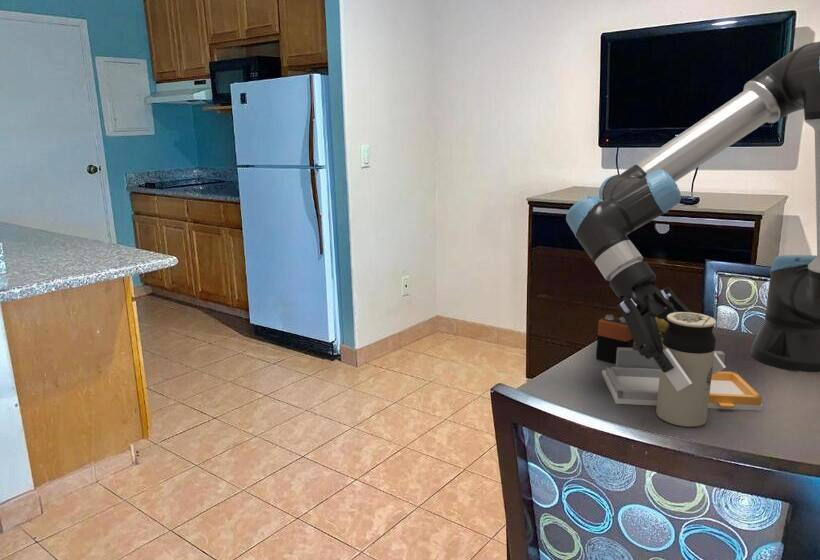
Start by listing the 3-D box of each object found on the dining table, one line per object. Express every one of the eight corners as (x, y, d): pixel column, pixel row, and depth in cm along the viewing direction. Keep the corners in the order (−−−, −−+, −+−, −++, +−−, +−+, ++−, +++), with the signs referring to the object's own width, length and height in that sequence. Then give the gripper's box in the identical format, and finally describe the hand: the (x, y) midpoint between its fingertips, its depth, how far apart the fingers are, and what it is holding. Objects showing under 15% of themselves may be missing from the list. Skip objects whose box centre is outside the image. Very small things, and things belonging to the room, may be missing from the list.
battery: (625, 367, 127) (628, 322, 125) (595, 359, 131) (598, 315, 129) (633, 361, 130) (637, 317, 128) (604, 354, 135) (607, 311, 132)
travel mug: (648, 417, 104) (657, 318, 100) (667, 403, 109) (676, 308, 105) (695, 433, 98) (707, 328, 94) (713, 417, 104) (725, 317, 100)
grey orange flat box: (731, 380, 120) (735, 344, 118) (765, 413, 105) (770, 374, 103) (602, 374, 123) (604, 340, 121) (617, 406, 108) (620, 367, 107)
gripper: (647, 274, 118) (718, 373, 109) (572, 292, 104) (647, 406, 96) (675, 251, 112) (752, 353, 104) (601, 267, 99) (682, 386, 90)
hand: (702, 379), depth 100 cm, fingers open, 10 cm apart
